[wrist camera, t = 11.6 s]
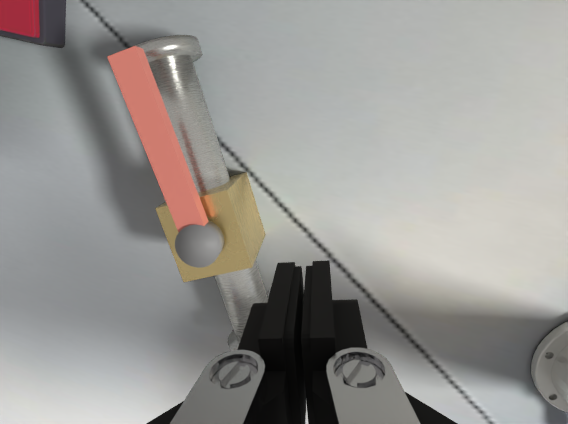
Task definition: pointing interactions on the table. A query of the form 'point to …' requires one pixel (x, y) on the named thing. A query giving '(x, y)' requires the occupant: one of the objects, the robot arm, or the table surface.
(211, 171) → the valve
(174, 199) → the lever
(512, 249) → the table surface
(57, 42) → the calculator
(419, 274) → the table surface
